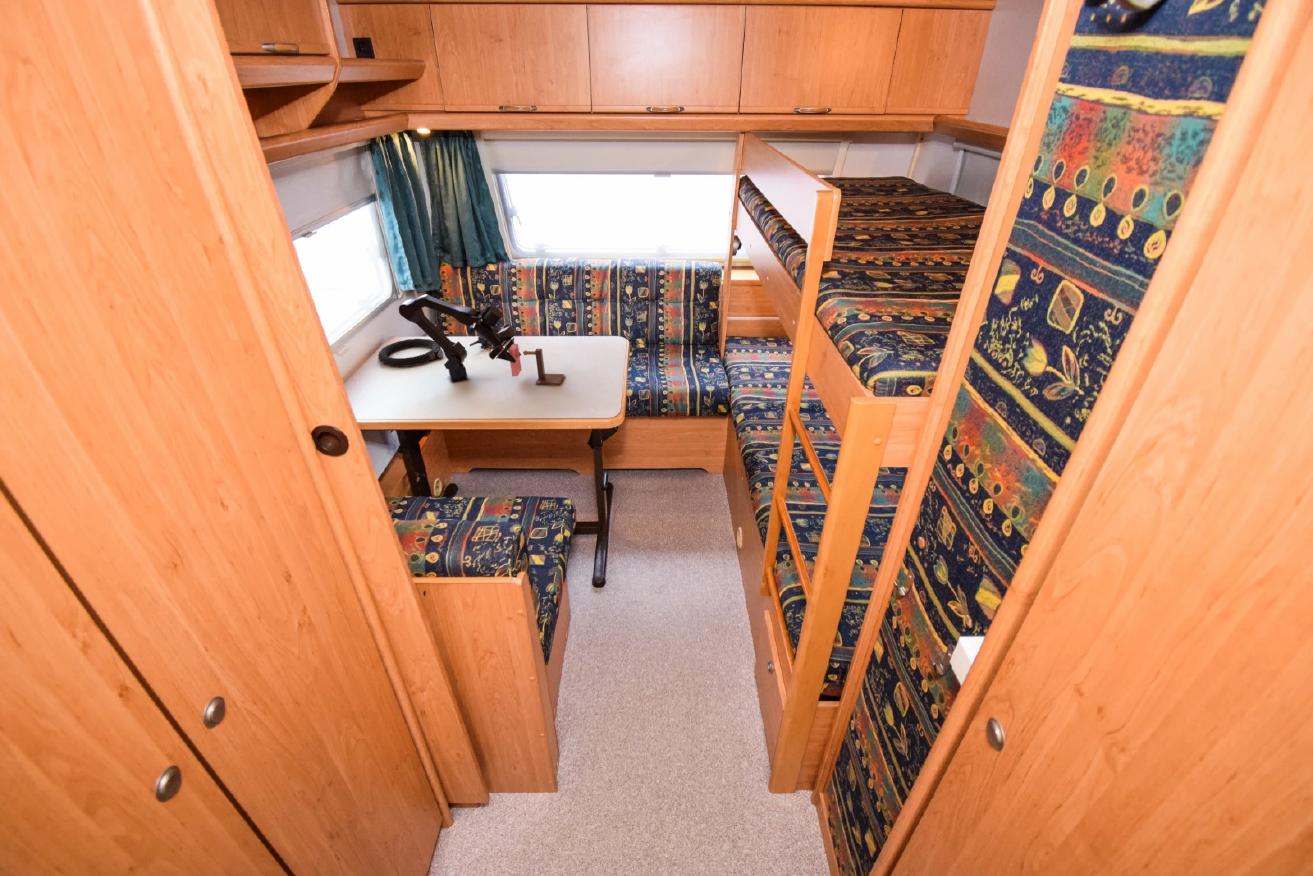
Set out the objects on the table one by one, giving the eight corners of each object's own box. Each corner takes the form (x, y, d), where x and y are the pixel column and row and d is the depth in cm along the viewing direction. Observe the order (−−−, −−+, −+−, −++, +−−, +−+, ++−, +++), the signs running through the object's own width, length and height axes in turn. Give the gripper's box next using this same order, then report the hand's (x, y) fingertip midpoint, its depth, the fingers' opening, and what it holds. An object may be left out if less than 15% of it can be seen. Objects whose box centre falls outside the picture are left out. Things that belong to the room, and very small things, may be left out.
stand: (524, 384, 246) (519, 353, 239) (529, 375, 254) (525, 345, 247) (559, 385, 245) (556, 354, 238) (564, 376, 253) (560, 345, 246)
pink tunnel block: (512, 376, 245) (508, 349, 239) (516, 369, 251) (512, 343, 245) (517, 376, 245) (513, 349, 239) (521, 369, 251) (518, 343, 244)
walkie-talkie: (503, 335, 289) (480, 347, 272) (497, 343, 292) (473, 355, 275) (495, 326, 288) (471, 337, 271) (488, 334, 291) (464, 345, 274)
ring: (399, 335, 286) (455, 339, 281) (401, 342, 288) (456, 346, 283) (364, 357, 263) (424, 362, 258) (366, 365, 265) (426, 370, 260)
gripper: (492, 328, 228) (523, 355, 233) (507, 312, 244) (535, 338, 249) (476, 346, 233) (506, 372, 238) (491, 329, 249) (520, 354, 254)
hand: (518, 358), depth 244 cm, fingers closed on pink tunnel block, 6 cm apart
